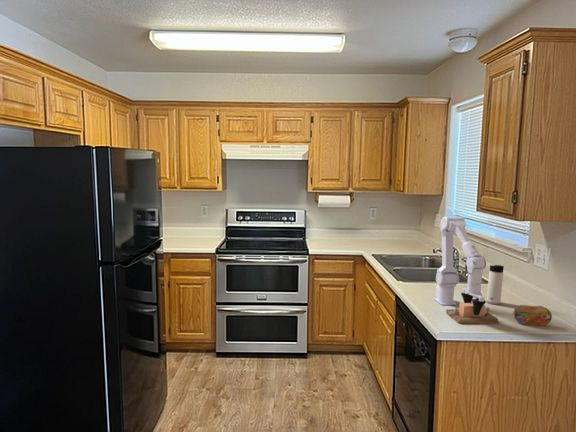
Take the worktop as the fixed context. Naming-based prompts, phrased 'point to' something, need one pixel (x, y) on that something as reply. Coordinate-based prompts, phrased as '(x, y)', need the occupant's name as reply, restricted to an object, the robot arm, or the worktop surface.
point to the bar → (469, 310)
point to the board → (468, 320)
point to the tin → (532, 315)
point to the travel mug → (495, 284)
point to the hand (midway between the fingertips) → (471, 311)
